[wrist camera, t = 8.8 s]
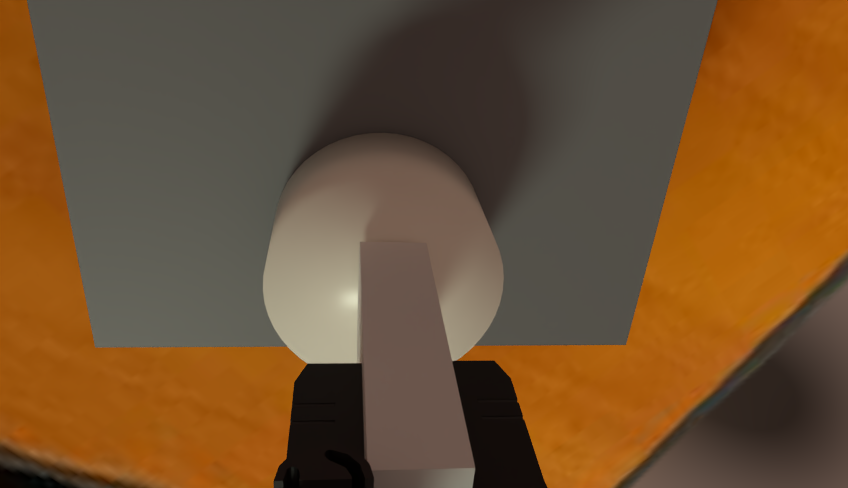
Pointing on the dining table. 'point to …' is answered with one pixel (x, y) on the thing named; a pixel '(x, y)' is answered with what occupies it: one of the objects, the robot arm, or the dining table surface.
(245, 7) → the control box
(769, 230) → the dining table surface
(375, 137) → the cream knob
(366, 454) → the robot arm
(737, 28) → the dining table surface
